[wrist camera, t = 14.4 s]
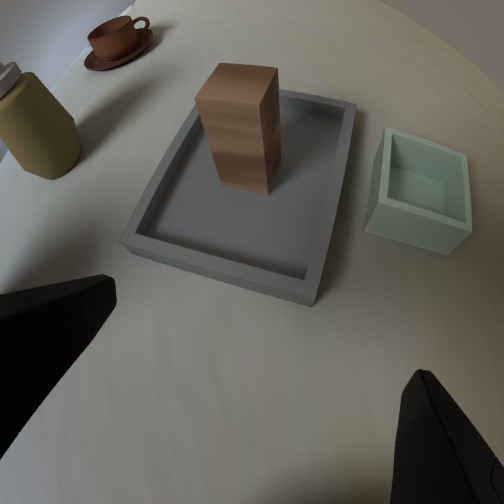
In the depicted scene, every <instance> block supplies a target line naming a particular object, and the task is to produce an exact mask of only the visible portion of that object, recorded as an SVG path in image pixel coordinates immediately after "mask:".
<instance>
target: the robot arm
mask: <svg viewBox="0 0 504 504" xmlns="http://www.w3.org/2000/svg"><path fill="white" fill-rule="evenodd" d="M116 303H117V297H116V285H115V280H114V279H113V278H112V277H109V276H107V275H104V274H101V275H96V276H91V277H86V278H81V279H76V280H71V281H66V282H61V283H56V284H51V285H46V286H41V287H36V288H31V289H26V290H21V291H16V292H11V293H6V294H4V295H3V294H1V295H0V460H1V458H2V457H3V455H4V454H5V452H6V451H7V450H8V448H9V447H10V445H11V444H12V443H13V441H14V440H15V438H16V437H17V436H18V434H19V432H20V431H21V430H22V428H23V427H24V426H25V424H26V423H27V422H28V420H29V419H30V418H31V416H32V415H33V414H34V412H35V411H36V410H37V409H38V407H39V406H40V405H41V403H42V402H43V401H44V399H45V398H46V397H47V396H48V394H49V393H50V392H51V391H52V389H53V388H54V387H55V386H56V384H57V383H58V382H59V381H60V379H61V378H62V377H63V376H64V374H65V373H66V372H67V371H68V369H69V368H70V367H71V366H72V365H73V363H74V362H75V361H76V360H77V358H78V357H79V356H80V355H81V354H82V352H83V351H84V350H85V349H86V348H87V346H88V345H89V344H90V343H91V341H92V340H93V339H94V337H95V336H96V334H97V333H98V331H99V330H100V328H101V327H102V326H103V324H104V323H105V321H106V320H107V318H108V317H109V315H110V314H111V313H112V311H113V310H114V308H115V306H116ZM390 504H504V467H503V465H502V464H501V463H500V461H499V460H498V458H497V457H495V454H494V453H493V451H492V450H491V449H490V447H489V446H488V444H487V443H486V442H485V440H484V439H483V438H482V436H481V435H480V433H479V432H478V431H477V429H476V428H475V427H474V425H473V424H472V423H471V421H470V420H469V419H468V418H467V416H466V415H465V414H464V412H463V411H462V410H461V408H460V407H459V406H458V405H457V403H456V402H455V401H454V399H453V398H452V397H451V396H450V394H449V393H448V392H447V391H446V389H445V388H444V387H443V386H442V384H441V383H440V382H439V381H438V379H437V378H436V377H435V376H434V374H433V373H432V372H431V371H428V370H422V369H418V370H416V371H415V373H414V374H413V376H412V377H411V379H410V380H409V382H408V384H407V385H406V387H405V388H404V390H403V392H402V396H401V404H400V413H399V420H398V427H397V434H396V441H395V454H394V469H393V481H392V491H391V499H390Z"/></svg>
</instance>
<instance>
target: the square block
mask: <svg viewBox="0 0 504 504" xmlns="http://www.w3.org/2000/svg"><path fill="white" fill-rule="evenodd" d="M195 102H196V105H197V108H198V111H199V115H200V118H201V121H202V124H203V127H204V131H205V134H206V137H207V140H208V143H209V147H210V150H211V153H212V156H213V159H214V163H215V166H216V169H217V172H218V175H219V178H220V182H221V185H222V186H227V187H231V188H236V189H241V190H245V191H250V192H255V193H259V194H263V195H269V192H270V189H271V186H272V184H273V181H274V178H275V175H276V172H277V170H278V167H279V164H280V161H281V158H282V157H281V128H280V104H279V83H278V68H274V67H266V66H256V65H244V64H230V63H219V65H218V66H217V67H216V69H215V70H214V71H213V73H212V74H211V75H210V77H209V78H208V80H207V81H206V82H205V84H204V85H203V87H202V88H201V89H200V91H199V92H198V94H197V95H196V97H195Z"/></svg>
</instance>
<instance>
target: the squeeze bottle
mask: <svg viewBox="0 0 504 504" xmlns="http://www.w3.org/2000/svg"><path fill="white" fill-rule="evenodd" d="M0 138H1V140H2V141H3V142H4V143H5V145H6V147H7V148H8V149H9V151H10V152H11V153H12V155H13V156H14V157H15V159H16V160H17V161H18V163H19V164H20V165H21V167H22V168H23V169H24V170H25V171H27V172H30V173H32V174H35V175H37V176H40V177H42V178H45V179H50V180H53V179H56V178H59V177H60V176H62V175H63V174H65V173H66V172H67V171H68V170H69V169H70V168H71V167H72V166H73V165H74V164H75V162H76V160H77V159H78V157H79V154H80V150H81V147H80V142H79V138H78V134H77V130H76V126H75V122H74V118H73V117H72V116H71V115H70V114H69V113H68V112H67V111H66V110H65V108H64V107H63V106H62V105H61V104H60V103H59V102H58V100H57V99H56V98H55V97H54V96H53V95H52V94H51V92H50V91H49V90H48V89H47V88H46V87H45V86H44V84H43V83H42V82H41V81H40V80H39V79H38V77H37V76H36V75H35V74H34V73H32V72H26V73H23V74H21V70H20V68H19V67H18V65H17V64H16V62H10V63H8V64H7V65H5V66H4V65H3V64H2V63H1V62H0Z"/></svg>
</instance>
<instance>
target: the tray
mask: <svg viewBox="0 0 504 504" xmlns="http://www.w3.org/2000/svg"><path fill="white" fill-rule="evenodd" d="M279 104H280V128H281V157H282V158H281V161H280V164H279V167H278V170H277V172H276V175H275V178H274V181H273V184H272V186H271V189H270V192H269V195H263V194H259V193H255V192H250V191H245V190H241V189H236V188H231V187H227V186H222V185H221V182H220V178H219V175H218V172H217V169H216V166H215V163H214V159H213V156H212V153H211V150H210V147H209V143H208V140H207V137H206V134H205V131H204V127H203V124H202V121H201V118H200V115H199V111H198V108H197V105H195V106H194V108H193V109H192V111H191V112H190V114H189V115H188V117H187V119H186V120H185V122H184V123H183V125H182V127H181V128H180V130H179V131H178V133H177V135H176V136H175V138H174V140H173V141H172V143H171V145H170V146H169V148H168V150H167V151H166V153H165V155H164V157H163V158H162V160H161V162H160V164H159V165H158V167H157V169H156V171H155V173H154V174H153V176H152V178H151V180H150V182H149V184H148V185H147V187H146V189H145V191H144V193H143V195H142V197H141V199H140V201H139V203H138V205H137V207H136V208H135V210H134V212H133V214H132V216H131V219H130V221H129V223H128V225H127V227H126V229H125V231H124V233H123V235H122V237H121V239H120V241H119V242H120V243H121V244H122V245H124V246H125V247H126V248H127V249H128V250H129V251H130V252H131V253H132V254H135V255H139V256H142V257H145V258H148V259H151V260H154V261H157V262H160V263H163V264H167V265H170V266H173V267H176V268H179V269H183V270H186V271H189V272H192V273H195V274H199V275H202V276H205V277H209V278H212V279H215V280H219V281H222V282H225V283H229V284H232V285H235V286H239V287H242V288H246V289H249V290H253V291H256V292H260V293H263V294H267V295H270V296H274V297H277V298H281V299H284V300H288V301H292V302H295V303H299V304H302V305H306V306H310V307H312V306H313V303H314V301H315V298H316V294H317V291H318V287H319V283H320V279H321V275H322V271H323V267H324V263H325V259H326V255H327V251H328V247H329V243H330V239H331V234H332V230H333V226H334V221H335V217H336V212H337V208H338V203H339V198H340V193H341V189H342V184H343V179H344V174H345V168H346V163H347V158H348V152H349V147H350V141H351V135H352V129H353V123H354V117H355V111H356V104H353V103H349V102H344V101H340V100H335V99H330V98H326V97H321V96H315V95H310V94H305V93H299V92H293V91H286V90H280V89H279Z"/></svg>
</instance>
